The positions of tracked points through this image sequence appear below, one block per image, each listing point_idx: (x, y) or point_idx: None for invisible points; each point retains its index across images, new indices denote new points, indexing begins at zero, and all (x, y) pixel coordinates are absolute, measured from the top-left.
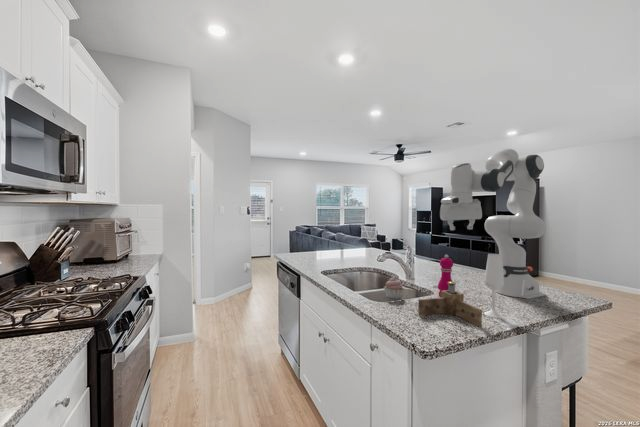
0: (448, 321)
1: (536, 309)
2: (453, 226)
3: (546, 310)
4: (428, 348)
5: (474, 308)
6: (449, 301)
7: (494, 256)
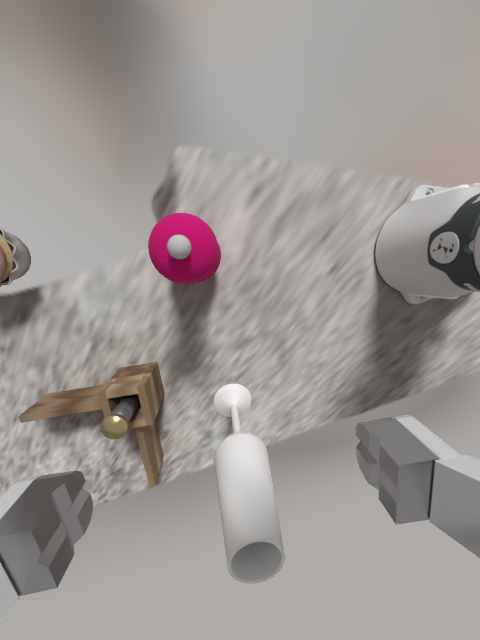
0: None
1: (356, 374)
2: (14, 596)
3: (371, 381)
4: None
5: (146, 472)
6: None
7: (236, 574)
